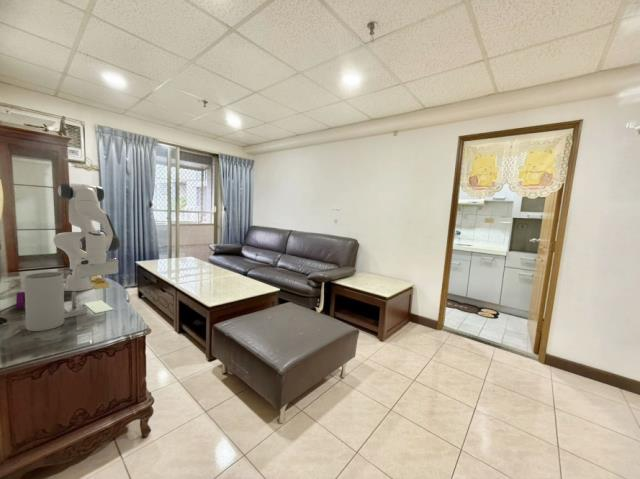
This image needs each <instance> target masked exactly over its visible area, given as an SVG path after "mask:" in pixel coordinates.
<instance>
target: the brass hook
mask: <svg viewBox="0 0 640 479" xmlns="http://www.w3.org/2000/svg"><path fill="white" fill-rule="evenodd" d="M101 278H102V277H100V276H92V278H91V280H94V282H92V289H94V290H95V291H96V290H101V289H106V288H110V282H109V281H107V280H104V279H103V281H101Z"/></svg>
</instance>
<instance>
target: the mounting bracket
mask: <svg viewBox="0 0 640 479" xmlns="http://www.w3.org/2000/svg"><path fill="white" fill-rule="evenodd" d="M24 309H25V291H22V292H16V310H17V311H18V310H19V311H20V310H24Z"/></svg>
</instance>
